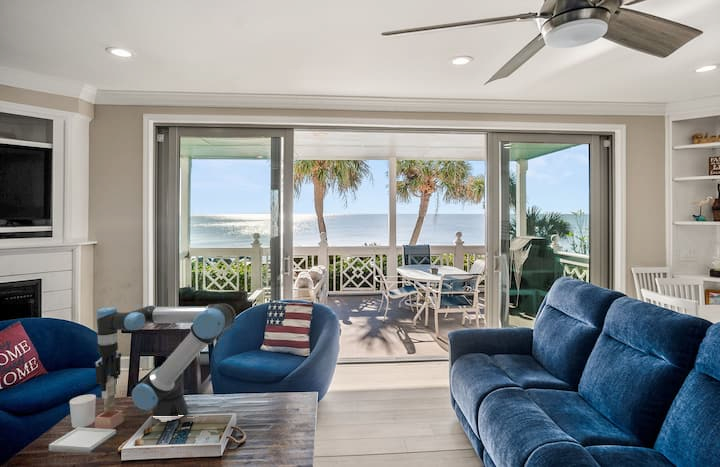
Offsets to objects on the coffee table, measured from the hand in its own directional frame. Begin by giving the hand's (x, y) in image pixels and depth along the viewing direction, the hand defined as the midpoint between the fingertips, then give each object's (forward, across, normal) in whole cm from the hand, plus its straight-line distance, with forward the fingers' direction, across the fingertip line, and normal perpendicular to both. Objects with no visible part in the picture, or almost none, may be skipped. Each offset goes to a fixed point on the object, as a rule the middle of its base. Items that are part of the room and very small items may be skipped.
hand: (109, 395), depth 178 cm
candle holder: (+14, 0, -14) cm, 20 cm away
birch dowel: (+7, 0, 0) cm, 7 cm away
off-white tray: (+14, +13, -1) cm, 19 cm away
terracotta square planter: (+14, 0, 0) cm, 14 cm away
